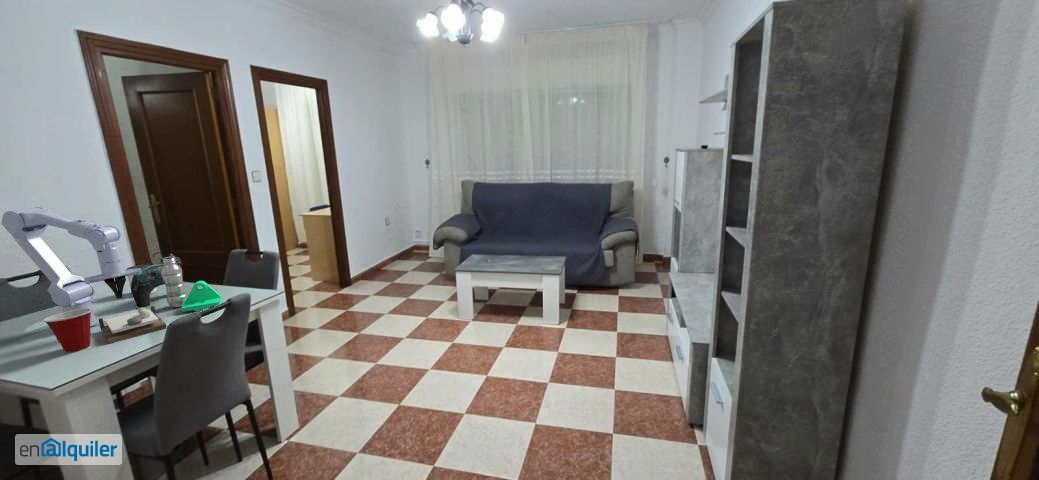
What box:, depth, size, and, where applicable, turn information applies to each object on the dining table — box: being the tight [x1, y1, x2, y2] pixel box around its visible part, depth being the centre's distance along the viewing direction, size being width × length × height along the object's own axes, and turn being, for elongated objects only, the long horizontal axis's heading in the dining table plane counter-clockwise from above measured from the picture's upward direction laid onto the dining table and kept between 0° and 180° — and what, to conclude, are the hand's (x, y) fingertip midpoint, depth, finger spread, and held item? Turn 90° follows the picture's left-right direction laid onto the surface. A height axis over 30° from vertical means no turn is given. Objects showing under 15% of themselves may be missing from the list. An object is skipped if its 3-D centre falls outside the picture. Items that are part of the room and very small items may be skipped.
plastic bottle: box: [161, 256, 188, 308], centre depth 166 cm, size 6×7×20 cm
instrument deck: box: [104, 307, 159, 333], centre depth 147 cm, size 15×12×3 cm
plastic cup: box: [43, 308, 92, 353], centre depth 133 cm, size 11×11×12 cm
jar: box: [126, 263, 158, 295], centre depth 183 cm, size 9×8×12 cm
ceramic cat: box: [130, 251, 183, 309], centre depth 174 cm, size 20×6×20 cm, turn 169°
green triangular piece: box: [181, 280, 223, 312], centre depth 166 cm, size 12×8×10 cm, turn 119°
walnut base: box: [97, 305, 167, 344], centre depth 147 cm, size 16×15×5 cm
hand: (119, 297), depth 149 cm, fingers closed
